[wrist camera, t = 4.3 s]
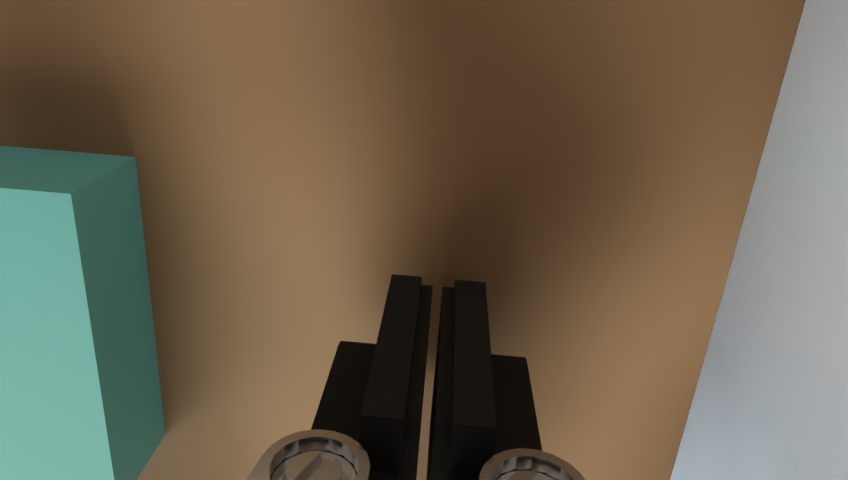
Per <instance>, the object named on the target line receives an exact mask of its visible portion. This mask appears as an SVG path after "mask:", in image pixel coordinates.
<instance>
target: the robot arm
mask: <svg viewBox="0 0 848 480" xmlns="http://www.w3.org/2000/svg"><path fill="white" fill-rule="evenodd" d="M432 292H433V286H431V285H422V277H419V276H408V275H396V274H392V276H391V280H390V285H389V289H388V294H387V298H386V303H385V307H384V311H383V316H382V320H381V325H380V329H379V334H378V338H377V343H376V344H373V343H362V342H351V341H340V343H339V345H338V348H337V351H336V354H335V357H334V360H333V363H332V366H331V369H330V372H329V375H328V378H327V381H326V385H325V388H324V391H323V394H322V397H321V400H320V403H319V406H318V409H317V412H316V415H315V418H314V421H313V425H312V428H311V430H306V431H299V432H296V433H293V434H290V435H287V436H285V437H283V438H281V439H280V440H278V441H277V442H275V443H273V444H272V445H271V446H270V447H269V448H268V449H267V450H266V451H265V452H264V454H263V455H262V456H261V457H260V459H259V461H258V462H257V464H256V465H255V467H254V468H253V470H252V472H251V473H250V475H249V476H248V478H247V479H246V480H416V478H417V466H418V455H419V443H420V432H421V420H422V408H423V397H424V385H425V374H426V362H427V350H428V339H429V327H430V315H431V304H432ZM426 480H585V479H584V477H583V476H582V474H581V473H580V472H579V471H578V470H577V469H575V468H574V467H573V466H572V465H571V464H570V463H568V462H567V461H565V460H563V459H561V458H559V457H557V456H556V455H554V454H550V453H547V452H544V451H542V446H541V440H540V435H539V429H538V423H537V417H536V411H535V405H534V399H533V393H532V387H531V382H530V376H529V370H528V364H527V360H526V358H525V357H518V356H507V355H496V354H491V344H490V332H489V319H488V307H487V294H486V283H485V282H477V281H465V280H455V284H454V287H443V289H442V299H441V310H440V320H439V331H438V342H437V353H436V364H435V374H434V385H433V396H432V407H431V418H430V431H429V446H428V461H427V476H426Z"/></svg>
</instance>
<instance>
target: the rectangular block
mask: <svg viewBox="0 0 848 480" xmlns="http://www.w3.org/2000/svg"><path fill="white" fill-rule="evenodd" d="M164 436H165V426H164V417H163V408H162V398H161V389H160V380H159V371H158V361H157V352H156V343H155V334H154V324H153V315H152V306H151V297H150V287H149V278H148V269H147V260H146V250H145V241H144V232H143V223H142V213H141V204H140V195H139V185H138V176H137V167H136V158H135V157H131V156H119V155H107V154H95V153H83V152H71V151H59V150H48V149H36V148H24V147H12V146H0V480H137V478H138V477H139V475H140V474H141V472H142V471H143V469H144V467H145V466H146V464H147V463H148V461H149V460H150V458H151V456H152V455H153V453H154V452H155V450H156V449H157V447H158V445H159V444H160V442H161V441H162V439H163V438H164Z"/></svg>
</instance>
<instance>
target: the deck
mask: <svg viewBox="0 0 848 480" xmlns="http://www.w3.org/2000/svg"><path fill="white" fill-rule="evenodd" d="M804 4H805V0H0V146H12V147H24V148H36V149H48V150H59V151H71V152H83V153H95V154H107V155H119V156H131V157H135V158H136V167H137V176H138V185H139V195H140V204H141V213H142V223H143V232H144V241H145V250H146V260H147V269H148V278H149V287H150V297H151V306H152V315H153V324H154V334H155V343H156V352H157V361H158V371H159V380H160V389H161V398H162V408H163V417H164V426H165V436H164V438H163V439H162V441H161V442H160V444H159V445H158V447H157V449H156V450H155V452H154V453H153V455H152V456H151V458H150V460H149V461H148V463H147V464H146V466H145V467H144V469H143V471H142V472H141V474H140V475H139V477H138V478H137V480H246V479H247V478H248V476H249V475H250V473H251V472H252V470H253V468H254V467H255V465H256V464H257V462H258V461H259V459H260V457H261V456H262V455H263V454H264V452H265V451H266V450H267V449H268V448H269V447H270V446H271V445H272V444H273V443H275V442H277V441H278V440H280V439H281V438H283V437H285V436H287V435H290V434H293V433H296V432H299V431H306V430H311V428H312V425H313V421H314V418H315V415H316V412H317V409H318V406H319V403H320V400H321V397H322V394H323V391H324V388H325V385H326V381H327V378H328V375H329V372H330V369H331V366H332V363H333V360H334V357H335V354H336V351H337V348H338V345H339V343H340V341H351V342H362V343H373V344H376V343H377V338H378V334H379V329H380V325H381V320H382V316H383V311H384V307H385V303H386V298H387V294H388V289H389V285H390V280H391V276H392V274H396V275H408V276H419V277H422V285H431V286H433V292H432V304H431V315H430V327H429V339H428V350H427V362H426V374H425V385H424V397H423V408H422V420H421V432H420V443H419V455H418V466H417V478H416V480H426V476H427V461H428V446H429V431H430V418H431V407H432V396H433V385H434V374H435V364H436V353H437V342H438V331H439V320H440V310H441V299H442V289H443V287H454V284H455V280H465V281H477V282H485V283H486V294H487V307H488V319H489V332H490V344H491V354H496V355H507V356H518V357H525V358H526V360H527V364H528V370H529V376H530V382H531V387H532V393H533V399H534V405H535V411H536V417H537V423H538V429H539V435H540V440H541V446H542V451H544V452H547V453H550V454H554V455H556V456H557V457H559V458H561V459H563V460H565V461H567V462H568V463H570V464H571V465H572V466H573V467H574V468H575V469H577V470H578V471H579V472H580V473H581V474H582V476H583V477H584V479H585V480H670V477H671V474H672V470H673V467H674V463H675V460H676V456H677V452H678V449H679V445H680V442H681V438H682V435H683V431H684V428H685V424H686V421H687V417H688V414H689V410H690V407H691V403H692V399H693V396H694V392H695V389H696V385H697V382H698V378H699V375H700V371H701V368H702V364H703V361H704V357H705V354H706V350H707V346H708V343H709V339H710V336H711V332H712V329H713V325H714V322H715V318H716V315H717V311H718V308H719V304H720V301H721V297H722V293H723V290H724V286H725V283H726V279H727V276H728V272H729V269H730V265H731V262H732V258H733V255H734V251H735V248H736V244H737V240H738V237H739V233H740V230H741V226H742V223H743V219H744V216H745V212H746V209H747V205H748V202H749V198H750V195H751V191H752V187H753V184H754V180H755V177H756V173H757V170H758V166H759V163H760V159H761V156H762V152H763V149H764V145H765V142H766V138H767V134H768V131H769V127H770V124H771V120H772V117H773V113H774V110H775V106H776V103H777V99H778V96H779V92H780V89H781V85H782V81H783V78H784V74H785V71H786V67H787V64H788V60H789V57H790V53H791V50H792V46H793V43H794V39H795V36H796V32H797V28H798V25H799V21H800V18H801V14H802V11H803V7H804Z"/></svg>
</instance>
